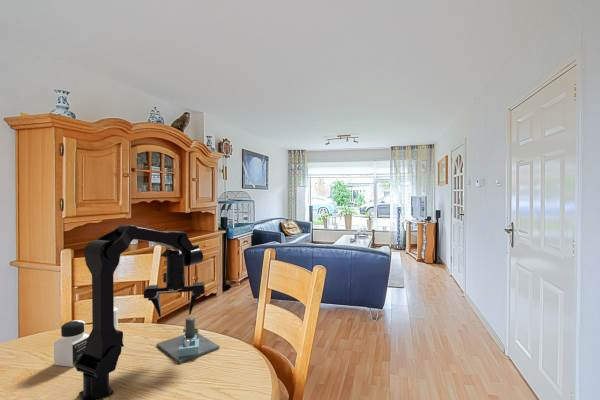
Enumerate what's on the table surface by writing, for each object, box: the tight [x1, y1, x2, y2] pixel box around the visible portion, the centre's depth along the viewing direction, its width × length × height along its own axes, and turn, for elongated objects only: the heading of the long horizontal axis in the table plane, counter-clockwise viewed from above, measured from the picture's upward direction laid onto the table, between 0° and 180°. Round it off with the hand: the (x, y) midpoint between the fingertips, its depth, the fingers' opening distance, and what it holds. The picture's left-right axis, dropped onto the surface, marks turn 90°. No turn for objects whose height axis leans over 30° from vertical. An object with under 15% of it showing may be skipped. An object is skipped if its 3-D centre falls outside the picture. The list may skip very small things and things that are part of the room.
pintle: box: [185, 339, 190, 347], centre depth 105 cm, size 2×2×5 cm
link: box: [179, 317, 199, 357], centre depth 110 cm, size 14×6×8 cm, turn 15°
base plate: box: [156, 322, 220, 365], centre depth 110 cm, size 17×14×5 cm
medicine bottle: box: [53, 319, 90, 368], centre depth 101 cm, size 7×7×12 cm
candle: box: [114, 306, 119, 331], centre depth 116 cm, size 6×6×15 cm
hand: (175, 315), depth 108 cm, fingers open, 9 cm apart
